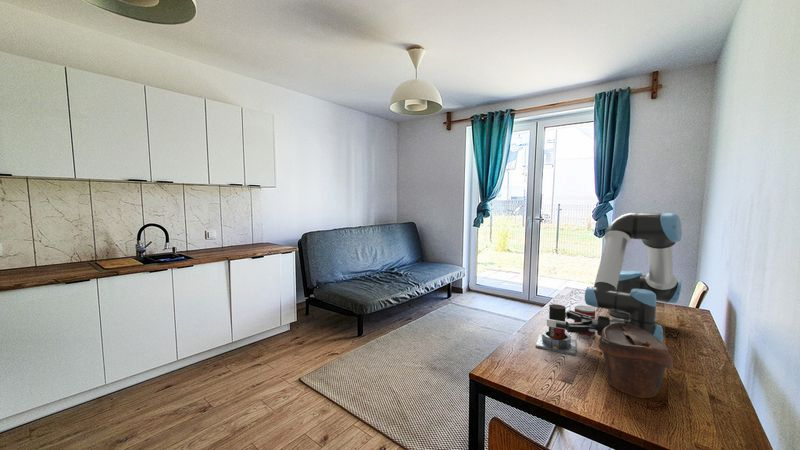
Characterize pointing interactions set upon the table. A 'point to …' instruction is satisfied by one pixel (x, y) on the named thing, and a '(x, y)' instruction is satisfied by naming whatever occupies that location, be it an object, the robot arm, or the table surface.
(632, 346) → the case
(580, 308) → the canned food
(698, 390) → the table surface
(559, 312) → the deodorant
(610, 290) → the robot arm
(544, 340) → the hub socket
